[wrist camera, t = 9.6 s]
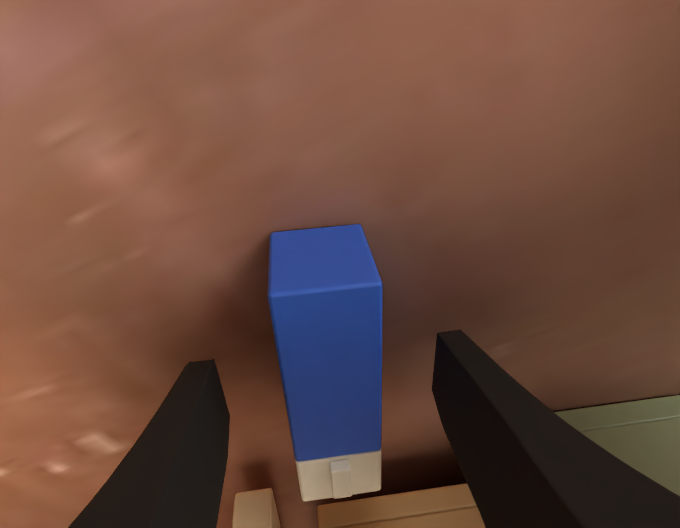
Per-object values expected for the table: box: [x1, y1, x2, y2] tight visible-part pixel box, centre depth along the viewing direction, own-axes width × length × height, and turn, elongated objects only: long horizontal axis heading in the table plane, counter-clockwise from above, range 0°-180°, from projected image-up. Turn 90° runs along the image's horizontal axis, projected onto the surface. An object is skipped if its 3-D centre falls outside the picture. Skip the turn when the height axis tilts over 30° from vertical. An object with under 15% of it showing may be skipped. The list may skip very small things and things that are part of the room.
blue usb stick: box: [268, 224, 383, 501], centre depth 11 cm, size 7×2×3 cm, turn 3°
